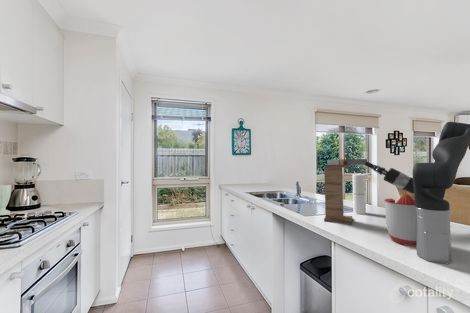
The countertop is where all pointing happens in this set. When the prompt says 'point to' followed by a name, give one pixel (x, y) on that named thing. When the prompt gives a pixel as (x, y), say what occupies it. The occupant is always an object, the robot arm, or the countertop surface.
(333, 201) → the stand
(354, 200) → the cylindrical container
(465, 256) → the countertop surface
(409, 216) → the citrus juicer
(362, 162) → the cord plug
